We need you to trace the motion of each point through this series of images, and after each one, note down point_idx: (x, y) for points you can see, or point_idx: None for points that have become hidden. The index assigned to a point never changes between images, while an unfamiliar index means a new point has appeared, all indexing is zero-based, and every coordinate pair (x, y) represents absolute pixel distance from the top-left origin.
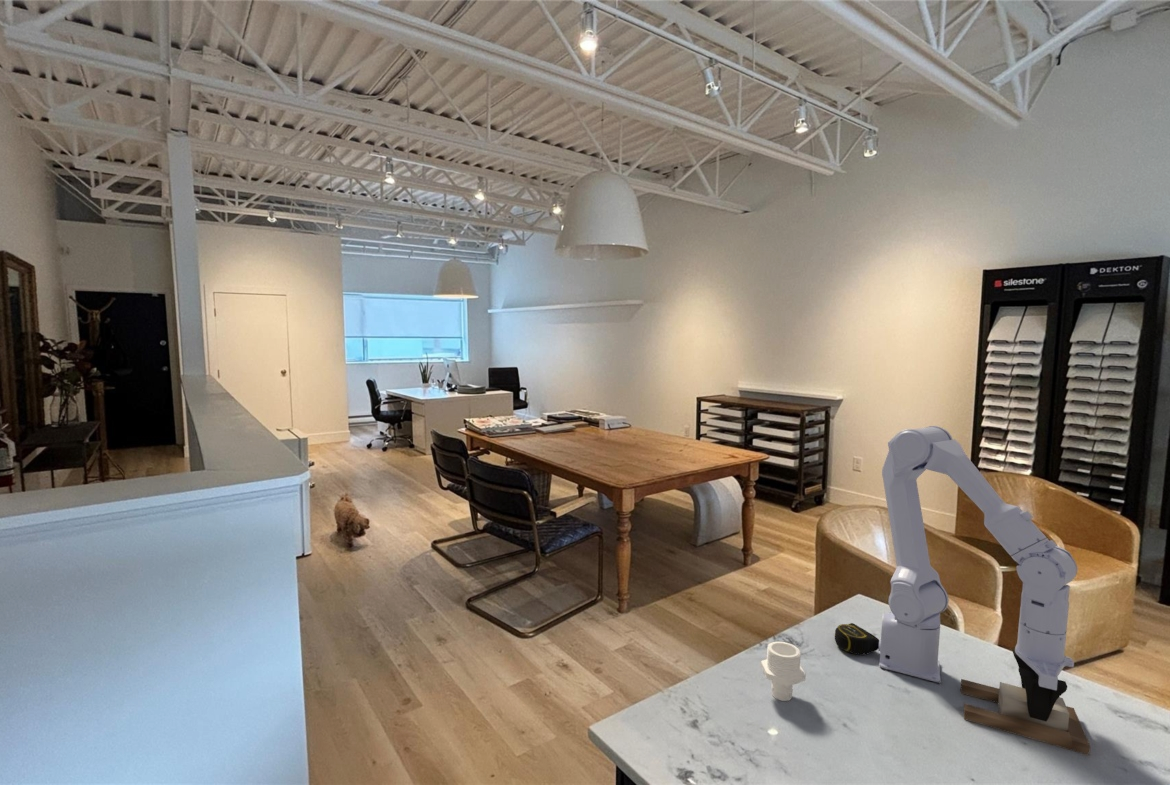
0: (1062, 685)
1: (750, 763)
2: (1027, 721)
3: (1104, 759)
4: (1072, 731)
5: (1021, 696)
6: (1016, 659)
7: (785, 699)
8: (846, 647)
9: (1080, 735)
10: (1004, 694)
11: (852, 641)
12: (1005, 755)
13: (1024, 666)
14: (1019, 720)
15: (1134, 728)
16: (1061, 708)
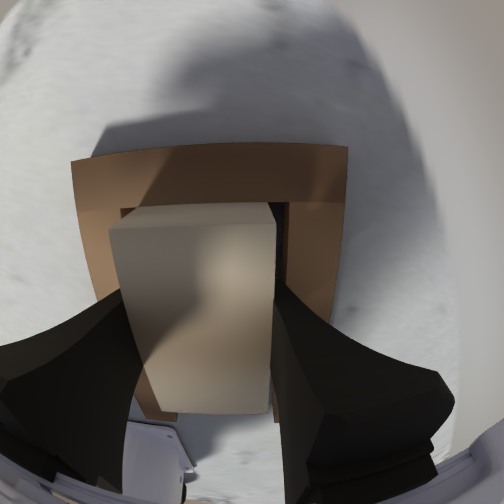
0: (430, 416)
1: (439, 454)
2: None
3: (330, 103)
4: (272, 187)
5: (227, 378)
6: (121, 481)
7: None
8: (186, 491)
9: (290, 163)
10: (251, 411)
11: (184, 500)
12: (411, 339)
13: (113, 446)
14: None
15: (70, 16)
16: (238, 252)
